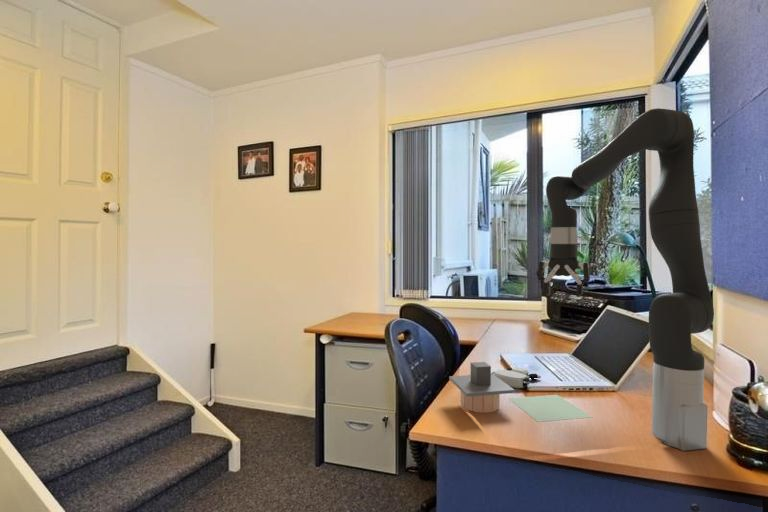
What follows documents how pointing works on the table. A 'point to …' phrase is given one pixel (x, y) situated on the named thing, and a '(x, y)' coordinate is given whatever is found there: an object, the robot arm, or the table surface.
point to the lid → (481, 382)
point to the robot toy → (515, 377)
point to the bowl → (480, 403)
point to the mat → (549, 408)
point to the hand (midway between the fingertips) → (563, 295)
